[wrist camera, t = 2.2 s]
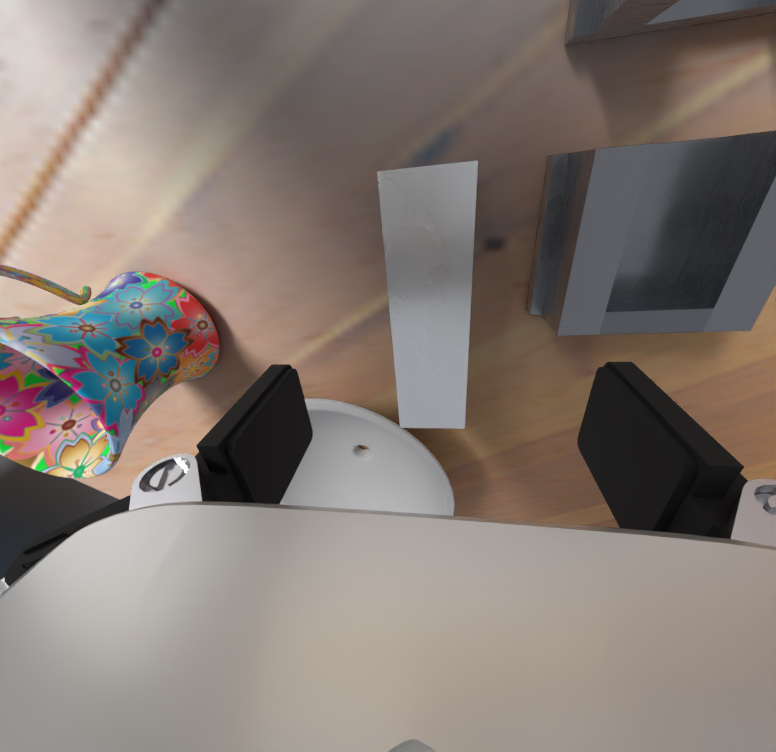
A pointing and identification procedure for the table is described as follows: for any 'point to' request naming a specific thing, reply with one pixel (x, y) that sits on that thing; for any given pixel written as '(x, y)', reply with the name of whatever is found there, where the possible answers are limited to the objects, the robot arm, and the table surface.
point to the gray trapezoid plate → (430, 287)
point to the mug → (95, 369)
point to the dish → (366, 465)
